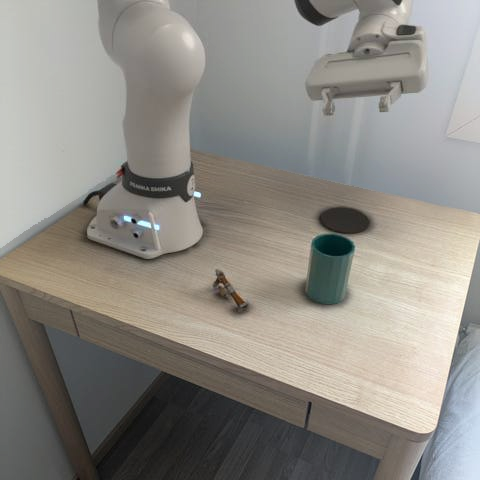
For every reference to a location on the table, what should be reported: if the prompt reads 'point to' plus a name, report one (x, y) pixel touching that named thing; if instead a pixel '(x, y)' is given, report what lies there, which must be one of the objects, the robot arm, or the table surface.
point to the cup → (329, 268)
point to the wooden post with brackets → (229, 290)
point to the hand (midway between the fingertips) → (354, 110)
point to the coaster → (345, 220)
